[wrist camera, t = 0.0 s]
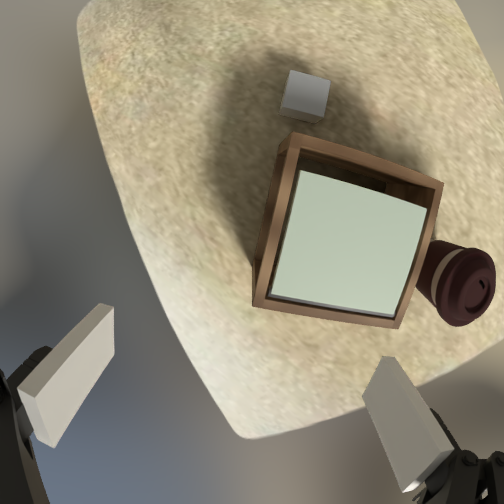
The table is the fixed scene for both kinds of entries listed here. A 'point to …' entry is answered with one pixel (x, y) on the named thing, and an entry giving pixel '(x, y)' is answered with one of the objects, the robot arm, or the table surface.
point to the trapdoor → (346, 247)
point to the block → (304, 97)
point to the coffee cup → (457, 281)
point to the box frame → (396, 176)
